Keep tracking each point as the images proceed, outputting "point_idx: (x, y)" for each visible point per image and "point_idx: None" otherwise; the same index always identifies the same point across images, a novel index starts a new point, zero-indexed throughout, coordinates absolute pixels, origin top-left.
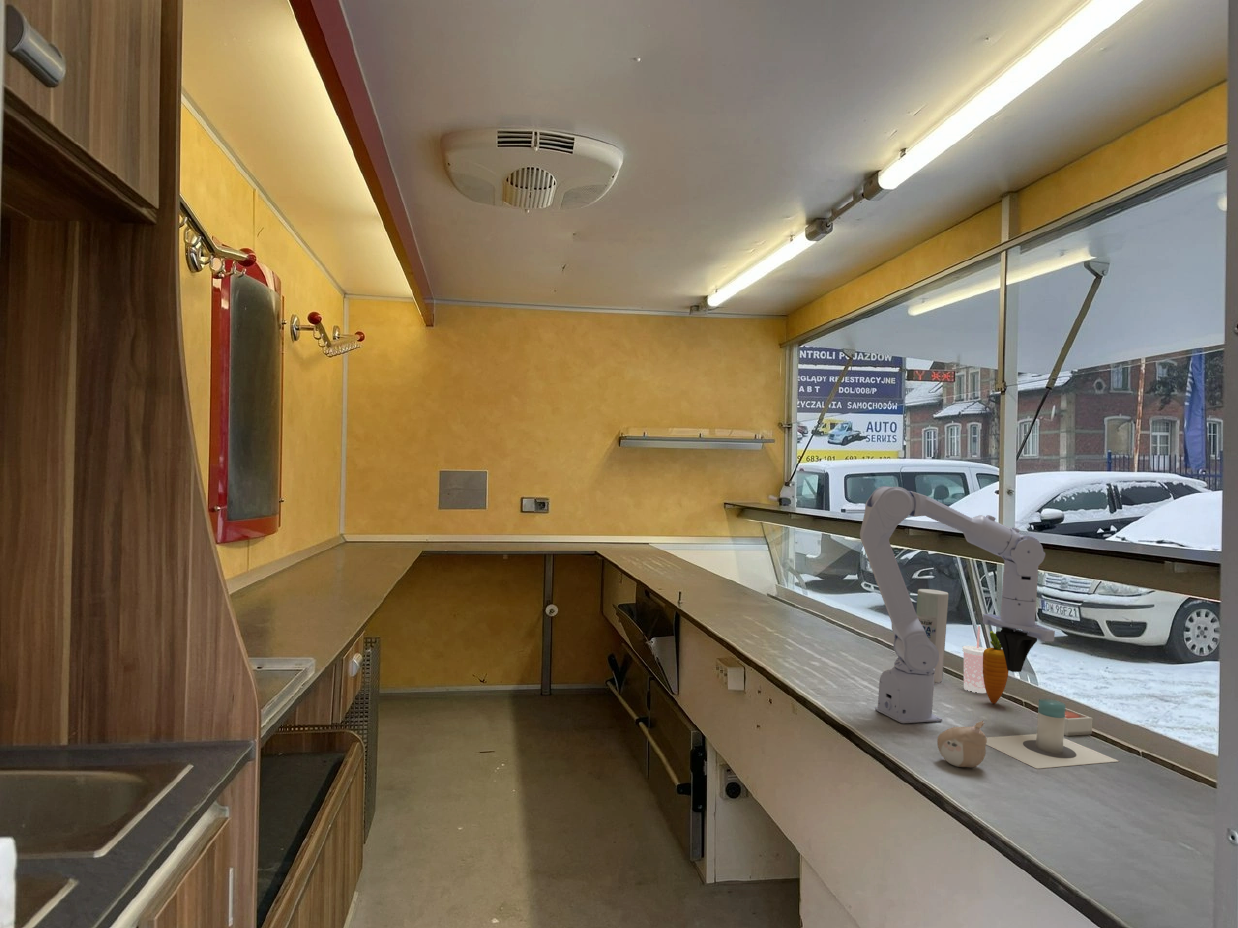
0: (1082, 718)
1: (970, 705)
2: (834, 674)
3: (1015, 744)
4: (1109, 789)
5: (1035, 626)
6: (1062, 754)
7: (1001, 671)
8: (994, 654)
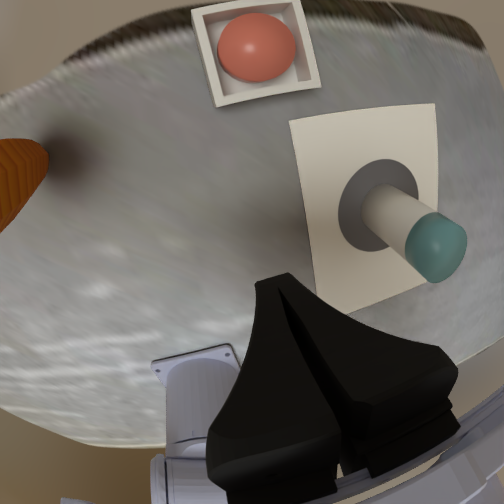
0: (306, 29)
1: (77, 231)
2: (11, 391)
3: (354, 263)
4: (483, 219)
5: (498, 454)
6: None
7: (16, 182)
8: None
